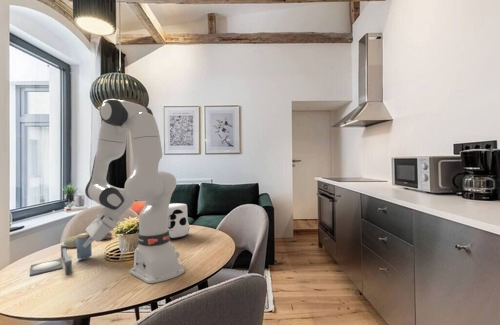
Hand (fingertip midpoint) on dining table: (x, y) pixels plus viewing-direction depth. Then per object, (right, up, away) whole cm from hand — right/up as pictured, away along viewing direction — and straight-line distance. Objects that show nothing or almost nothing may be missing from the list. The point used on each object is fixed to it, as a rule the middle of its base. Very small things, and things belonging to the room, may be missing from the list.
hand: (82, 244), depth 111 cm
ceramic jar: (+1, -5, 0) cm, 5 cm away
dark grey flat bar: (-4, -7, -4) cm, 9 cm away
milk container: (+31, -6, +32) cm, 45 cm away
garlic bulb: (-8, -7, +30) cm, 32 cm away
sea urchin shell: (-17, -7, +20) cm, 27 cm away
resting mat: (-10, -7, -8) cm, 14 cm away
